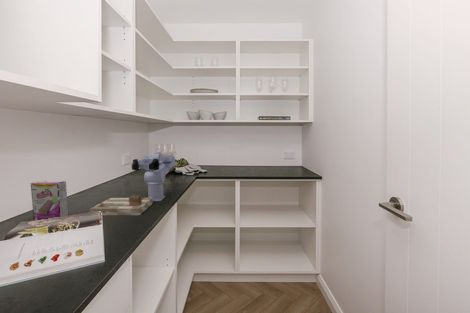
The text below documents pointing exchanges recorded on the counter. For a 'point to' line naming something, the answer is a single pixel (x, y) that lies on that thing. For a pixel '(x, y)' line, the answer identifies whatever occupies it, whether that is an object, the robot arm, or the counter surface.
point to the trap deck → (122, 206)
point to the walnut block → (135, 200)
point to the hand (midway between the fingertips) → (141, 167)
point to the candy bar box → (49, 199)
